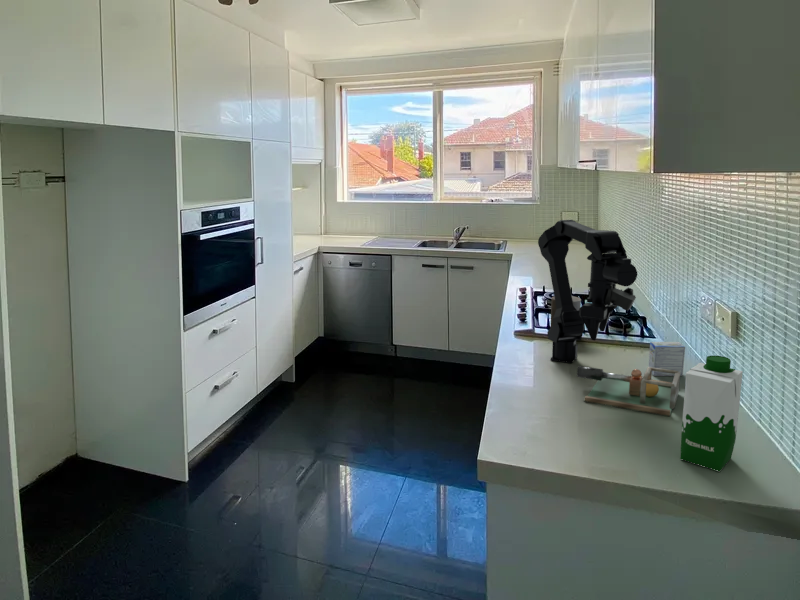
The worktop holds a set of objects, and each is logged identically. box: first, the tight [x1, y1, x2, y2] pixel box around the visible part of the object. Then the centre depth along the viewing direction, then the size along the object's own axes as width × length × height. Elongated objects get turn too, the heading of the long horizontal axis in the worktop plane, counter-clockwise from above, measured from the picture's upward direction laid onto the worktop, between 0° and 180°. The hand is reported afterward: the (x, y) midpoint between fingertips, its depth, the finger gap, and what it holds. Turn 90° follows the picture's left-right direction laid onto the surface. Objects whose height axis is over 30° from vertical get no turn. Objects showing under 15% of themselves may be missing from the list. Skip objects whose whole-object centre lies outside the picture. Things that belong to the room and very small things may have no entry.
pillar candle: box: [549, 295, 582, 329], centre depth 189 cm, size 10×10×15 cm
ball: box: [646, 383, 659, 397], centre depth 137 cm, size 4×4×4 cm
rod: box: [576, 365, 643, 396], centre depth 142 cm, size 15×4×6 cm, turn 59°
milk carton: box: [679, 355, 744, 472], centre depth 105 cm, size 9×9×20 cm
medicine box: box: [648, 341, 686, 377], centre depth 153 cm, size 8×4×9 cm, turn 84°
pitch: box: [584, 366, 681, 417], centre depth 139 cm, size 20×20×6 cm
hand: (598, 335), depth 150 cm, fingers open, 9 cm apart
